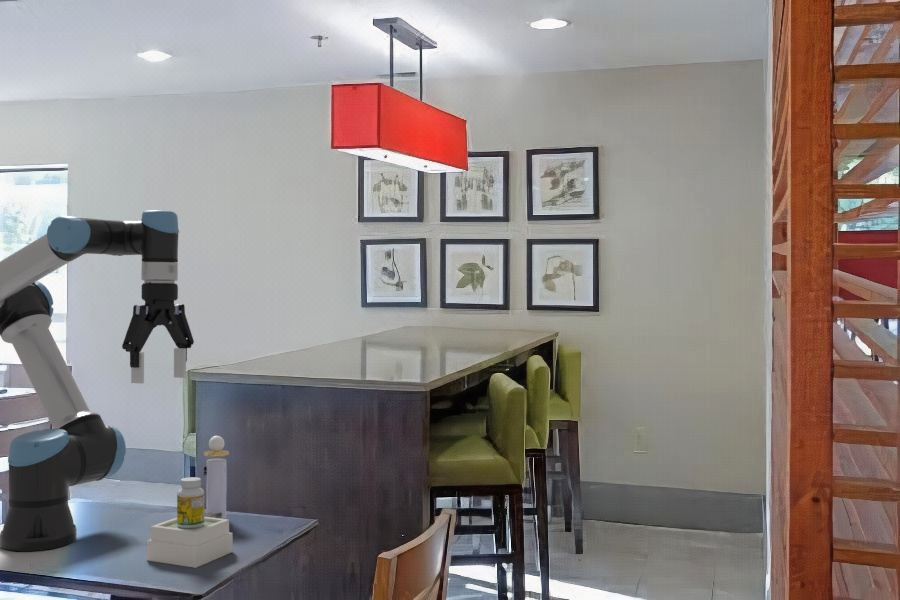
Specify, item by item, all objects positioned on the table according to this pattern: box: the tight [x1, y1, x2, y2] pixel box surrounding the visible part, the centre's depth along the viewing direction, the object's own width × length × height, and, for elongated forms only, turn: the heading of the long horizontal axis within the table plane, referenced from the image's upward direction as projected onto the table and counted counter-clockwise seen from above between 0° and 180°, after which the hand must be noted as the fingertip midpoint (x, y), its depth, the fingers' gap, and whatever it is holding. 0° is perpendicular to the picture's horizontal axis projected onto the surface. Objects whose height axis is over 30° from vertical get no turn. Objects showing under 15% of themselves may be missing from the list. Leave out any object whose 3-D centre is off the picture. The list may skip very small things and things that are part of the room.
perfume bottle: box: [203, 435, 230, 519], centre depth 219 cm, size 6×6×20 cm
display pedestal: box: [146, 517, 234, 569], centre depth 190 cm, size 12×12×7 cm
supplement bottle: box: [176, 476, 205, 529], centre depth 190 cm, size 5×5×10 cm
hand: (159, 380), depth 202 cm, fingers open, 13 cm apart
